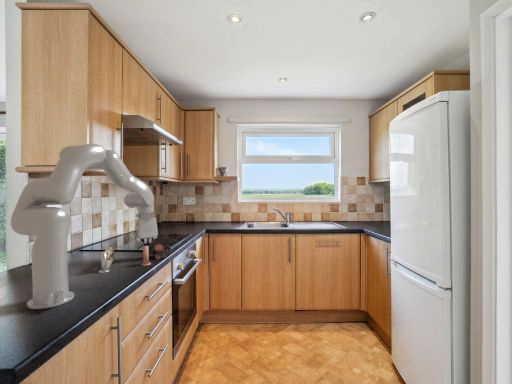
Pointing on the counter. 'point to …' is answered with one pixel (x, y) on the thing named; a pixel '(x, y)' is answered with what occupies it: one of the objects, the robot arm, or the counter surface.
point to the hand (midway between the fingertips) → (147, 250)
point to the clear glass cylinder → (104, 262)
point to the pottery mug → (159, 251)
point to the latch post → (145, 256)
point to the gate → (110, 256)
